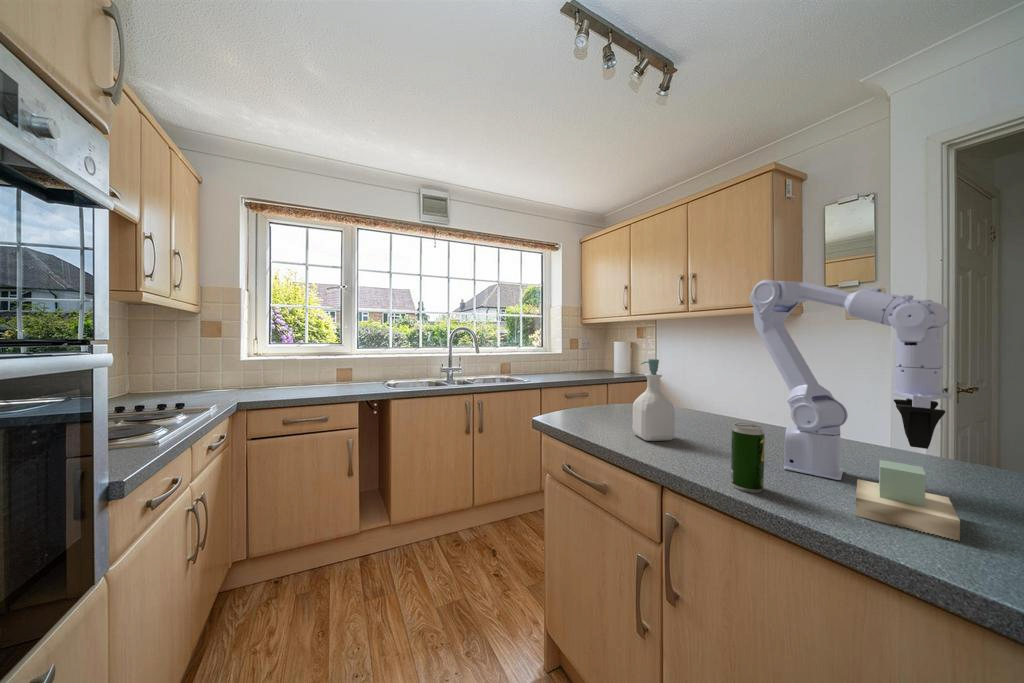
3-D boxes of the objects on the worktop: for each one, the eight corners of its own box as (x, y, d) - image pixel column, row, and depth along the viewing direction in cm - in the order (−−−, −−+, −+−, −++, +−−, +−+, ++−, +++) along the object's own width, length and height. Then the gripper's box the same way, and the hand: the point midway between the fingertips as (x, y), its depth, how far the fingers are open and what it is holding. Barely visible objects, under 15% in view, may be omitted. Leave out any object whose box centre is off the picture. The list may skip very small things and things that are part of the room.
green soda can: (734, 491, 70) (735, 428, 70) (727, 480, 76) (728, 422, 75) (767, 495, 69) (769, 430, 69) (758, 484, 74) (759, 424, 74)
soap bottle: (629, 433, 112) (630, 357, 111) (660, 433, 113) (661, 357, 112) (644, 442, 102) (645, 360, 102) (677, 442, 103) (678, 360, 103)
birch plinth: (855, 515, 61) (855, 497, 61) (857, 495, 69) (857, 479, 69) (959, 541, 53) (960, 520, 53) (947, 515, 61) (948, 497, 61)
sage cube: (879, 497, 61) (880, 466, 61) (879, 488, 65) (879, 459, 65) (924, 507, 58) (925, 475, 58) (921, 497, 61) (922, 466, 61)
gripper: (959, 371, 59) (958, 457, 59) (946, 366, 69) (944, 439, 69) (895, 368, 64) (894, 447, 64) (891, 364, 74) (890, 432, 74)
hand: (916, 442), depth 67 cm, fingers open, 7 cm apart
